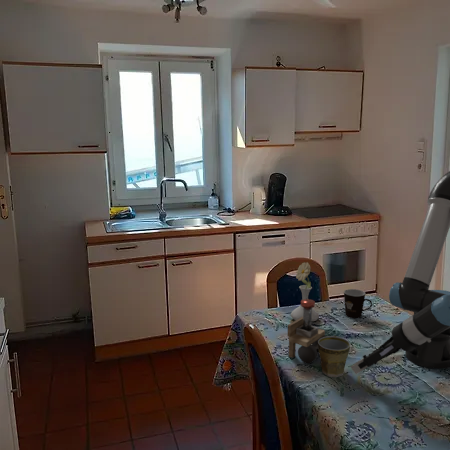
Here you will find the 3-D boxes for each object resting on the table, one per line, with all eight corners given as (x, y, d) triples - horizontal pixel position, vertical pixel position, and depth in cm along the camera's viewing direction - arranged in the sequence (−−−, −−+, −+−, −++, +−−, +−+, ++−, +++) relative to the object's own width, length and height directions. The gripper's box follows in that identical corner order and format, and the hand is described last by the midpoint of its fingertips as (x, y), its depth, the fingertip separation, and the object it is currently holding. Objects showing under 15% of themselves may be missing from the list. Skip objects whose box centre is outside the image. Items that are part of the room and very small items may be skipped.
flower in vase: (289, 313, 194) (290, 256, 189) (316, 314, 193) (318, 256, 189) (292, 326, 181) (293, 265, 176) (321, 326, 181) (323, 265, 176)
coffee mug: (338, 312, 194) (339, 290, 192) (356, 310, 197) (357, 288, 195) (354, 323, 183) (355, 299, 181) (372, 320, 186) (374, 297, 184)
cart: (330, 353, 159) (331, 321, 157) (313, 366, 150) (313, 333, 148) (305, 344, 165) (306, 314, 163) (287, 357, 156) (287, 325, 154)
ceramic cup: (348, 382, 140) (349, 351, 138) (315, 377, 143) (316, 348, 141) (349, 362, 153) (351, 334, 151) (319, 358, 155) (320, 330, 153)
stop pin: (316, 332, 157) (317, 301, 155) (309, 337, 154) (310, 305, 152) (304, 329, 160) (305, 298, 158) (297, 333, 157) (298, 301, 154)
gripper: (411, 353, 122) (351, 389, 136) (429, 337, 131) (371, 372, 145) (392, 329, 124) (336, 367, 139) (411, 315, 134) (356, 351, 148)
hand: (354, 369), depth 142 cm, fingers closed
